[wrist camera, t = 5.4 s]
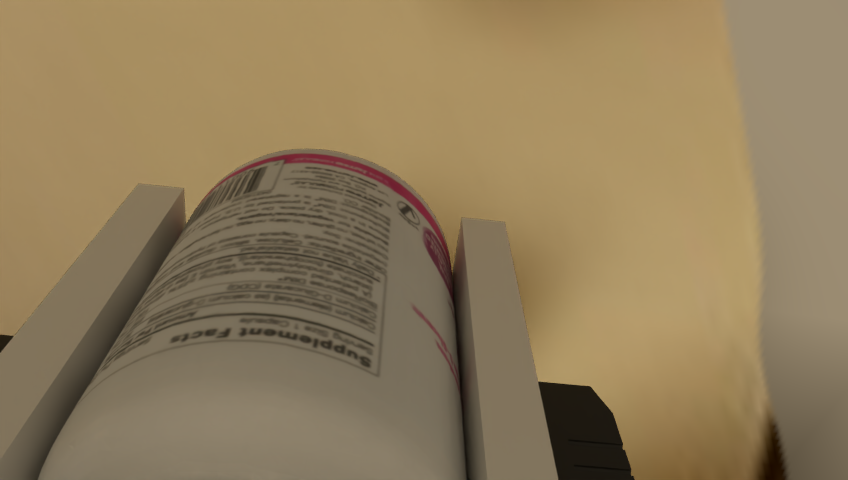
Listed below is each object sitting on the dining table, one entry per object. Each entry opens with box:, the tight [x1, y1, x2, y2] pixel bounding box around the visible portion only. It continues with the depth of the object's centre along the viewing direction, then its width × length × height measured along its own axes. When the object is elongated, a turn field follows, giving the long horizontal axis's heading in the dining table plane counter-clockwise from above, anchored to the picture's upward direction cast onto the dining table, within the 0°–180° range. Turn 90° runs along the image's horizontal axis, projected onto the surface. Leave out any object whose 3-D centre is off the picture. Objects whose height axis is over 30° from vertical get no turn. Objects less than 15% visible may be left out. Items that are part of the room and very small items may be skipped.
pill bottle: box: [38, 149, 467, 480], centre depth 9 cm, size 5×5×8 cm
